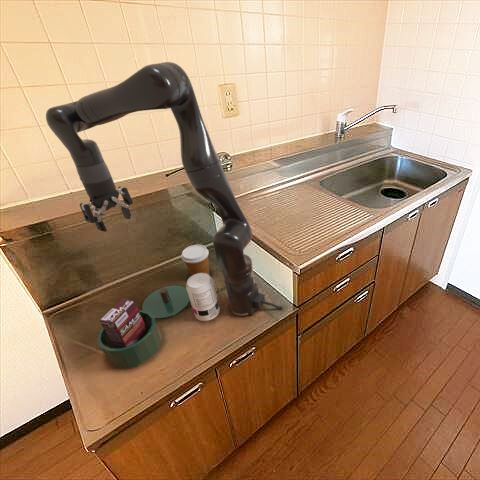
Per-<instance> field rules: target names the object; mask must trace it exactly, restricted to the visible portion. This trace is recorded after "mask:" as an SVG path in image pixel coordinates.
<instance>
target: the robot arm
mask: <svg viewBox="0 0 480 480" xmlns="http://www.w3.org/2000/svg"><path fill="white" fill-rule="evenodd" d="M169 109H170V110H171V112H172V115H173V117H174V120H175V122H176V124H177V128H178V130H179V131H178V133H179V143H180V159H181V164H182V167H183V169H184V172H185V174H186V176H187V179H188V180H189V182H190V184H191V186H192V187H193V188H194V191H196V192H197V194H199V195H200V196H201V197H202V198H204V199H206V200H207V201H209V203H211V204H212V205H213V206H214V208H215V209H216V210H217V212H218V214H219V216H220V219H221V221H222V226H221V227H220V228H219V229H218V230H217V231H216V232H215V234H214V235H213V238H212V245H213V249H214V253H215V257H216V260H217V263H218V266H219V267H220V268H221V270H222V274H223V279H224V283H225V288H226V293H227V297H228V302H229V308H230V311H231V313H232V314H233V315H235V316H238V317H247V316H253V315H254V313H255V312H256V311H257V309H258V310H260V309H261V308H262V306H264V305H267V306H272V307H274V308H276V309H279V310H282V309H283V306H279V305H277V304H275V303H272V302H269V301H266V298H265V294H264V293H261V292H260V291H259V285H258V283H256V282H255V276H254V267H253V261H252V258H251V256H249V255H247V254H246V253H244V250H245V249H246V248H247V246H248V245H249V244H250V242H251V241H252V240H253V239H252V238H253V230H252V227H251V225H250V223H249V221H248V219H247V217H246V215H245V214H244V212H243V210H242V209H241V206H240V205H239V203H238V201H237V198H236V196H235V193H234V191H233V190H232V187H231V185H230V183H229V180H228V178H227V176H226V173H225V170H224V167H223V165H222V163H221V159H220V158H219V156H218V153H217V151H216V149H215V146H214V145H213V142H212V139H211V137H210V134H209V131H208V129H207V127H206V124H205V122H204V118H203V116H202V113H201V110H200V106H199V103H198V100H197V96H196V93H195V90H194V87H193V84H192V81H191V79H190V77H189V76H188V74H187V73H186V71H185V70H184V68H182V67H181V66H180V65H179V64H177V63H175V62H172V61H165V62H159V63H151V64H147V65H144V66H143V67H141V68H140V69H138V70H137V71H136V72H134V73H133V74H132V75H130V76H129V77H128V78H126V79H125V80H123V81H121V82H120V83H117V84H116V85H114V86H111V87H108V88H104V89H101V90H98V91H96V92H92V93H90V94H87V95H85V96H83V97H81V98H79V99H78V100H75V101H73V102H68V103H65V104H60V105H55V106H53V107H50V108H48V109H47V110H46V112H45V120H46V123H47V126H48V127H49V129H50V130H51V131H52V133H53V134H54V135H55V136H56V137H57V139H58V140H59V141H60V142H61V143H62V145H63V146H64V148H65V149H66V150H67V151H68V152H69V154H70V155H69V156H70V157H71V160H72V162H73V163H74V166H75V168H76V172H77V175H78V178H79V180H80V181H81V184H82V185H83V188H84V190H85V193H86V194H87V196H88V198H89V201H87V202H80V203H79V207H80V210H81V212H82V215H83V218H84V219H85V221H86V222H88V223H90V224H95V226H96V229H97V230H98V231H100V232H103V233H106V232H107V231H108V230H107V227H106V225H105V223H104V221H103V216H104V215H105V214H106V211H109V210H110V209H111V208H116V207H117V206H119V207H120V211H121V213H122V215H123V217H124V219H126V220H130V219H131V217H132V214H131V211H130V206H131V205H133V204H134V202H133V199H132V196H131V195H130V192H129V190H128V188H127V187H124V186H118V188H117V187H116V184H115V181H114V179H113V177H112V174H111V172H110V169H109V167H108V165H107V163H106V162H105V159H104V156H103V154H102V152H101V150H100V147H99V145H98V143H97V141H95V140H93V139H90V138H89V139H86V138H85V139H83V138H81V136H79V133H81V132H84V131H87V130H89V129H90V130H91V129H93V128H95V127H97V126H102V125H105V124H108V123H112V122H115V121H117V120H119V119H122V118H123V117H126V116H127V115H129V114H133V113H137V112H144V111H155V110H169ZM120 195H121V198H122V200H123V201H122V200H120V199H119V198H120V197H119V196H120ZM92 207H93V208H92ZM92 209H93V210H92Z"/></svg>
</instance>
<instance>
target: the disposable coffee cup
mask: <svg viewBox="0 0 480 480" xmlns="http://www.w3.org/2000/svg"><path fill="white" fill-rule="evenodd" d="M209 251H210V250H209V249H208V248H207V247H206V246H205V245H203V244H191V245H189V246H186V247H185V248H184V249H183V250H182V252H181V260H183V262H184V263H185V265H186V268H187V269H188V272H189V274H190V277H191V276H192V275H194V274H197V273H207V274H209V275H210V265H209Z"/></svg>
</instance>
